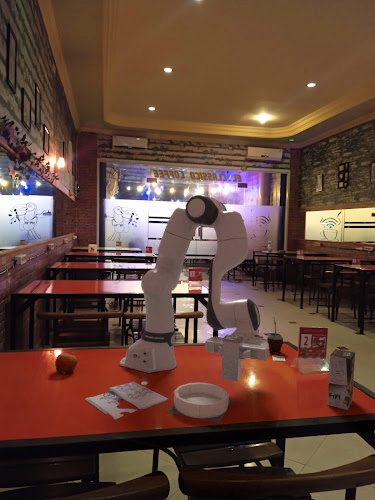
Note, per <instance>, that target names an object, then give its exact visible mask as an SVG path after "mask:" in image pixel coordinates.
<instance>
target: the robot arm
mask: <svg viewBox="0 0 375 500" xmlns="http://www.w3.org/2000/svg"><path fill="white" fill-rule="evenodd" d="M168 219H169V220H168V221H167V224H166V226H165V229H164V231H163V234H162V237H161V240H160V242H159V244H158V248H157V256H156V262H155V265H154V268H152V269H150V270H148V271H147V272H146V273H145V274H144V276H143V277H142V279H141V284H140V287H141V290H142V292H143V297H144V299H143V300H144V305H145V328H144V329H142V330H141V331H140V332H139V336H141V338H139V339H138V340H136V341H135V342H134V343H132V344H131V345H130V346H129V347H128V348H127V349H126V353H125V357H123V358H122V359H120V361H119V366H122V367H124V368H129V369H132V370H136V371H140V372H144V373H149V374H151V373H156V372H162V371H170V370H173V369H175V368H176V367H177V362H176V357H175V348H174V346H175V339H176V338H175V335H176V334H175V329H174V325H175V309H174V306H173V304H174V303H173V296H172V295H173V294H172V293H173V291H174V290H175V289H176V288H177V287H178V284H179V280H180V277H181V274H182V270H183V267H184V262H185V258H186V255H187V253H188V250H189V248H190V245H191V242H192V239H193V237H194V234H195V232H196V231H197V229H198V228H199V227H201V228H211V229H213V230H214V231H215V236H216V244H217V248H216V249H217V250H216V253H215V256H214V257H213V258H211V260H210V264H209V270H208V272H209V273H208V291H207V305H206V313H205V316H206V317H205V318H206V323H207V325H208V326H209V327H210V328H212V329H213V330H215V331H221V330H226V329H227V330H228V329H234V331H233V332H231V334H230V335H235V336H242V337H243V347H242V352H241V353H240V359H242V361H244V360H246V359H251V360H252V359H253V360H257V361H268V360H269V353H270V351H269V349H270V348H269V344H268V342H267V338H268V337H266V336H263V335H260V329H259V328H260V325H261V314H260V310H259V307H258V305H257V304H256V303H255V302H254V301H253V300H252V299H250V298H242V299H235V300H226V301H222V299H221V296H222V295H221V293H222V279H223V277H224V275H225V274H226V273H227V272H228V271H230V270H232V269H234V268H236V267H237V266H239V265H241V263H243V262H244V261H245V260H246V258H248V255H249V241H248V234H247V230H246V226H245V221H244V218H243V216H242V214H241V213H240V212H238V211H236V210H228V209H227V207H226V206H225V205H224V203H223V202H221V201H219V200H218V199H216V198H214V197H211V196H208V195H205V194H196V195H193V196H191V197H190V198H189V199H188V200H187V201H186V204H185V206H180V207H176V208H175V209H174V211H172V214H171V216H170V217H169V218H168ZM235 328H236V329H235ZM223 338H224V337H223V336H222V337H220V336H212V337H209V338H207V339H206V340H205V342H204V350H205V352H207V353H210V354H211V353H213V354H218V356H219V357H222V350H223Z"/></svg>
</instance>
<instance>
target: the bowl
mask: <svg viewBox="0 0 375 500" xmlns="http://www.w3.org/2000/svg"><path fill="white" fill-rule="evenodd" d="M229 398H230V395H229V393H228V392H227V390H226V389H225V388H223V387H221V386H219V385H217V384H212V383H208V382H207V383H206V382H189V383H185V384H182V385H179V386H178V387H177V388H176V389H175V390H174V391H173V404H174V406H175V409H176V410H177V411H178V412H179V413H181V414H183V415H185V416H184V417H187V416H188V417H187V418H192V417H193V419H197V418H201V419H207V418H214V417H218V416H221V415H223V414H224V413H225V412H227V411H228V409H227V406H228V401H229V400H230V399H229ZM225 414H226V413H225ZM225 414H224V415H225ZM201 419H200V420H201Z"/></svg>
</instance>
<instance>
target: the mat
mask: <svg viewBox="0 0 375 500" xmlns="http://www.w3.org/2000/svg"><path fill="white" fill-rule="evenodd" d="M232 402H233V400H232V399H229V401H228V406H227V410H228V409H229V408H230V406H231V404H232ZM226 412H227V411H226ZM226 412H225V413H224V414H223V415H221V416H218V417H214V418H207V419H201V418H196V419H197V420H201V421H208V422H213V423H216V424H220V423H221V421H222V420H223V418H224V416H225V414H226ZM166 413H167V414H173V415H178V416H183V417H187V418H189V417H188V416H185V415H183V414H181V413H179V412H178V411H177V410H176V409H175V406H174V403H173V404H172V405H171V406H170V407H169V408H168V409H167V411H166ZM191 418H193V417H191ZM193 419H194V418H193Z"/></svg>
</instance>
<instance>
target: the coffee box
mask: <svg viewBox="0 0 375 500" xmlns="http://www.w3.org/2000/svg"><path fill="white" fill-rule="evenodd" d="M355 357H356V352H355V351H350V350H345V349H344V350H343V349H338V348H336V349H334V350H333V351H332V353H331V354H330V356H329V367H328V368H329V369H328V386H327V387H328V388H327V389H328V390H327V404H326V405H328V406H330V407H334V408H338V409H341V410H345V411H348V410H349V408H350V407H351V404H352V402H353V399H354V384H355V383H354V382H355V381H354V379H355V363H356V362H355V361H356V360H355V359H356V358H355Z"/></svg>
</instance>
